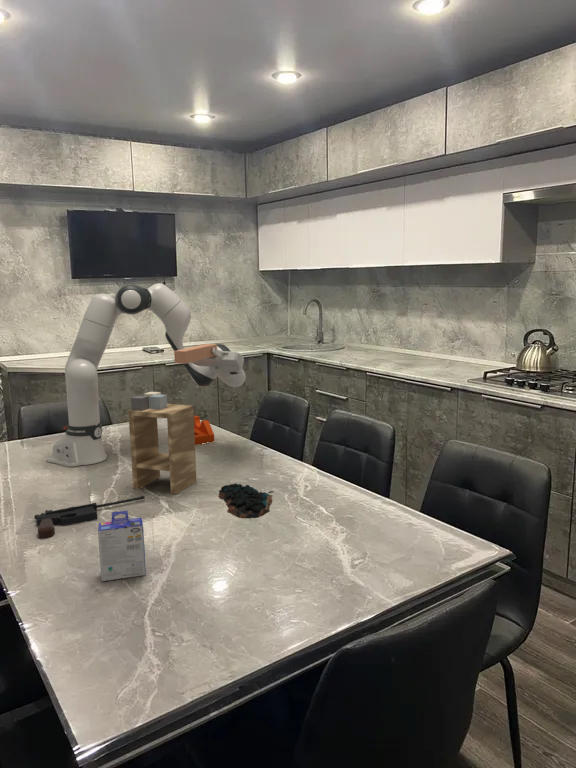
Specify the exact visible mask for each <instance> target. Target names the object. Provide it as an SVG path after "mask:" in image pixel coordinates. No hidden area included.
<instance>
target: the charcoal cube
mask: <svg viewBox="0 0 576 768" xmlns="http://www.w3.org/2000/svg"><path fill="white" fill-rule="evenodd" d="M130 404H131V405H130V406H131V407H130V408H131V410H137V411H143V410H146V409H149V396H144V395H136V396H132V397H130Z"/></svg>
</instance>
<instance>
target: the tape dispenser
mask: <svg viewBox="0 0 576 768" xmlns="http://www.w3.org/2000/svg"><path fill="white" fill-rule="evenodd" d="M194 433H195V446H198V445H197V444H200V445H203V444H202V443H206V444H208V443H207V442H212V443H214V442H215V433H214V431H213V429H212V426H211V423H210V421H209V420H208V419H205V420H203V419H202V420H201V418H200V416H199V415H194ZM213 441H214V442H213Z"/></svg>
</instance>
